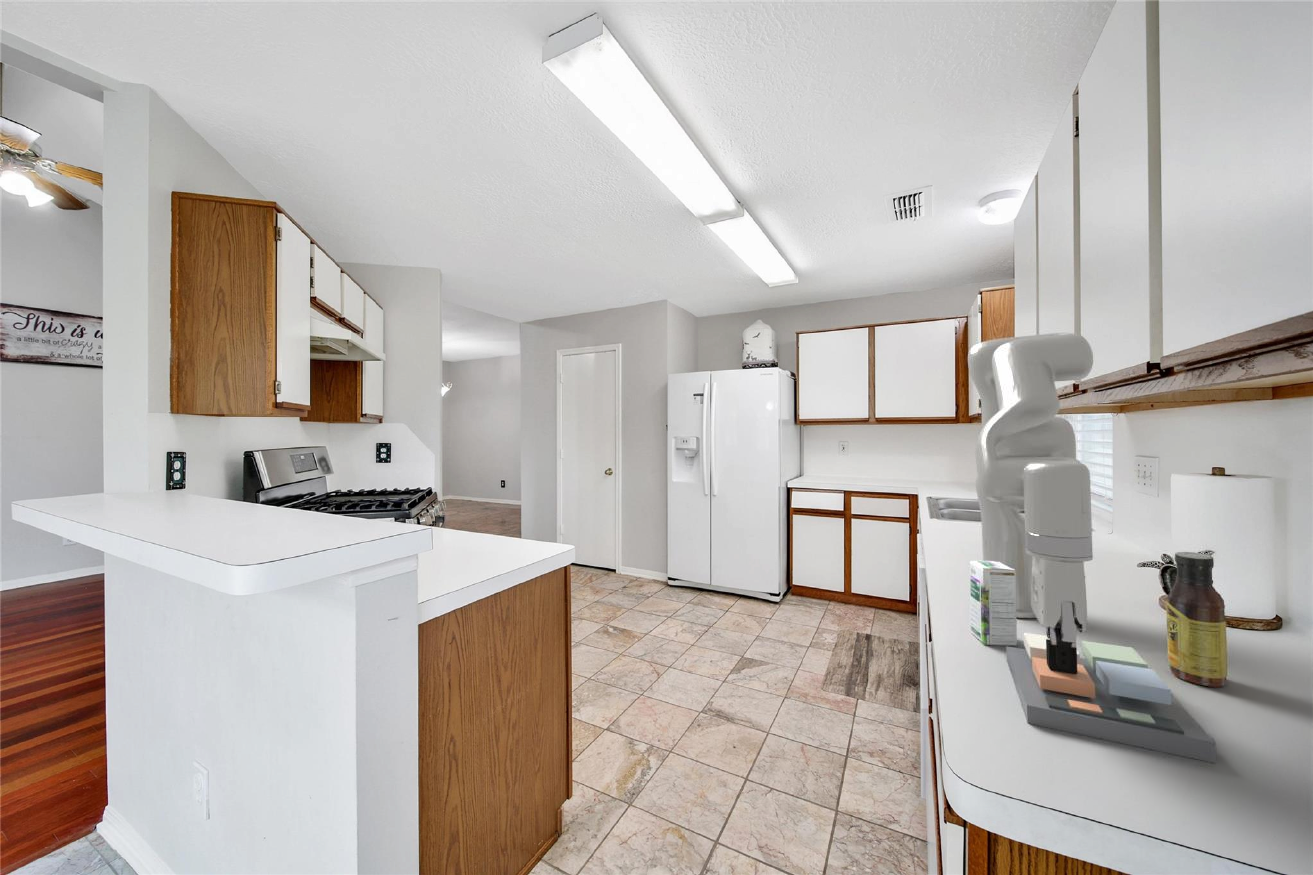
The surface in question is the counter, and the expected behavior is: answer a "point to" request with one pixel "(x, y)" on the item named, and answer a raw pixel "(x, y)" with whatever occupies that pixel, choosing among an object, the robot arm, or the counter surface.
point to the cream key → (1038, 646)
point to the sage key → (1111, 654)
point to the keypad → (1110, 714)
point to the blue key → (1133, 682)
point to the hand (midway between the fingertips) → (1061, 669)
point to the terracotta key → (1063, 679)
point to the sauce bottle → (1196, 623)
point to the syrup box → (993, 603)
